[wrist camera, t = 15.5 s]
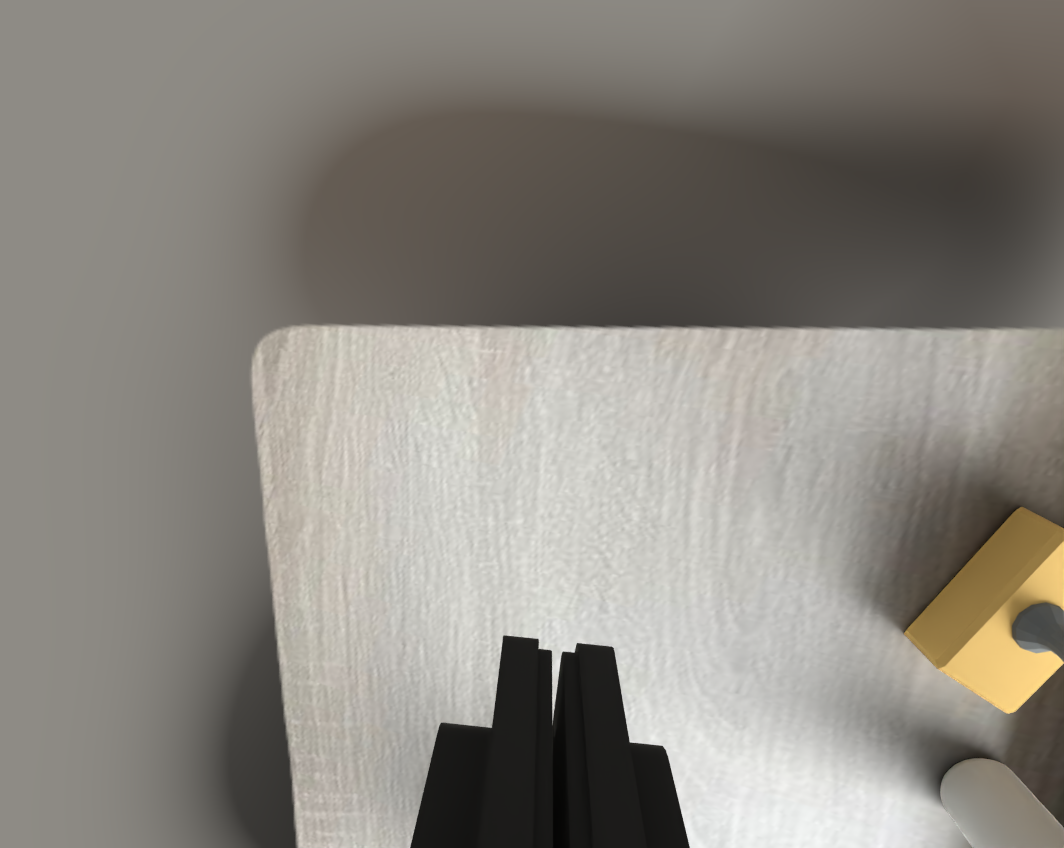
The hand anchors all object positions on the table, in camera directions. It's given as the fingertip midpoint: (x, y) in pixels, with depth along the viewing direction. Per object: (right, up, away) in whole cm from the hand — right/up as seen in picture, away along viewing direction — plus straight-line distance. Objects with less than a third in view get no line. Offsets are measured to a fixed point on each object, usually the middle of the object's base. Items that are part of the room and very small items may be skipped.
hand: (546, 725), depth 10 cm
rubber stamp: (+27, -6, +29) cm, 40 cm away
